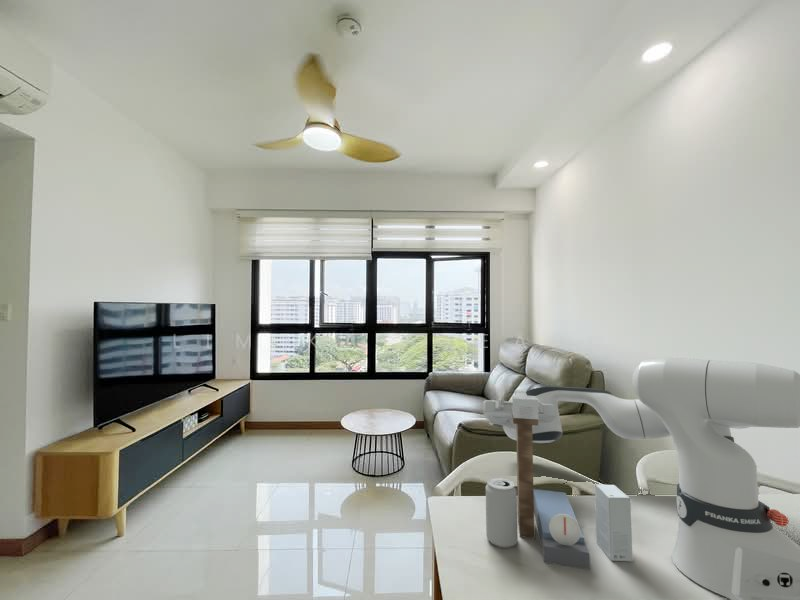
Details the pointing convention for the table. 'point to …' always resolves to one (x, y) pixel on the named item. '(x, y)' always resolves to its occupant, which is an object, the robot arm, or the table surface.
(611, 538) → the skincare box
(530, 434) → the walnut post stand
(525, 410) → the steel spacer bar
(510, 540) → the beverage can
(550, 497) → the platform scale
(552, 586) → the table surface
